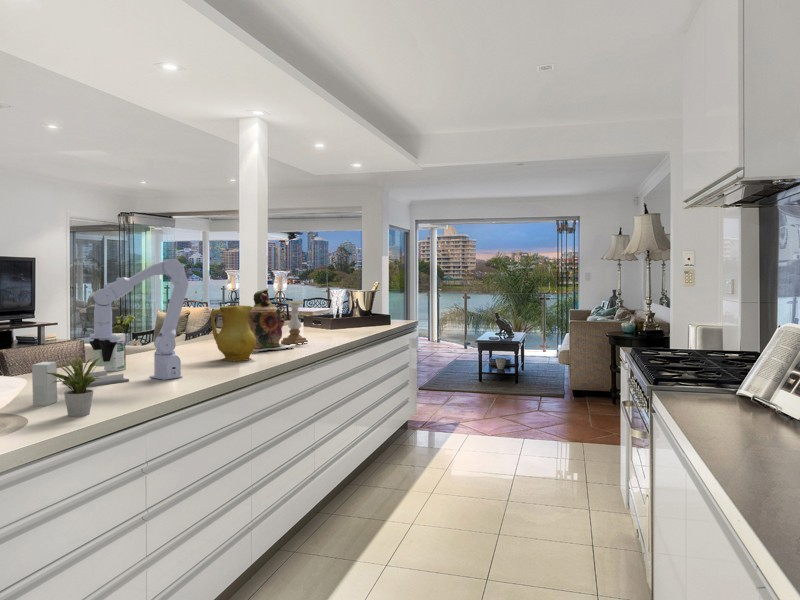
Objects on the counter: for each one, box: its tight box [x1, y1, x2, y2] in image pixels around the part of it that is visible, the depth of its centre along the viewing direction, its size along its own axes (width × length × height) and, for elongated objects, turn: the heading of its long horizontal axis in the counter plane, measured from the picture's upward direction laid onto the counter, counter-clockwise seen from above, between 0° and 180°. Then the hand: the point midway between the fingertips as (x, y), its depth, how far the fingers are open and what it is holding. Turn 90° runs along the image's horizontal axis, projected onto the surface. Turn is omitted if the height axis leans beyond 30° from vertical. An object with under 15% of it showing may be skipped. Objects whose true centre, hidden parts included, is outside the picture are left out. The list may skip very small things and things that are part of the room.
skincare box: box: [31, 361, 58, 407], centre depth 176 cm, size 6×4×12 cm
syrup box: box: [103, 332, 127, 372], centre depth 240 cm, size 6×6×14 cm
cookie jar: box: [248, 287, 296, 353], centre depth 317 cm, size 25×25×32 cm
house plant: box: [47, 355, 104, 418], centre depth 165 cm, size 14×14×16 cm
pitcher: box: [210, 305, 256, 362], centre depth 275 cm, size 17×19×25 cm
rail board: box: [63, 370, 130, 388], centre depth 212 cm, size 14×16×3 cm
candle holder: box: [280, 300, 309, 345], centre depth 342 cm, size 11×11×24 cm
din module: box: [93, 350, 113, 368], centre depth 214 cm, size 4×5×6 cm
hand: (103, 360), depth 214 cm, fingers closed on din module, 4 cm apart
